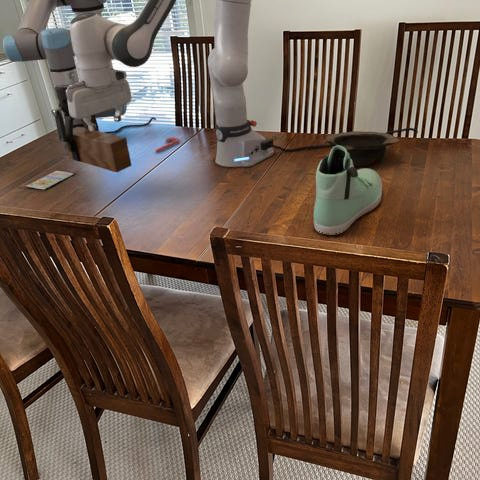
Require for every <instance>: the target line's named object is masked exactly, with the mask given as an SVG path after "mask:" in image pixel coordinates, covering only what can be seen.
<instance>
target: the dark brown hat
mask: <svg viewBox="0 0 480 480" xmlns="http://www.w3.org/2000/svg"><path fill="white" fill-rule="evenodd" d="M385 133H386V132H380V131H379V132H378V131H362V130H361V131H360V130H354V131H353V130H352V131H345V132H343V131H342V132H338V133H333V134H330V135H328V136H326V138H325V141H324V143H327V145H329V144H331V145H334V146H342V147H344V148H345V149H346V150H347V152H348V153H349V156H350V159H352V161H353V166H354V167H361V166H370V165H372V164H373V162H374V161H383V160H384V159H385V157H386V152H387V151H386V150H387V147H389V146H391V145H394V144H396V143H398V142H399V139H398V138H397V137H395V136H394V135H392V134H385Z"/></svg>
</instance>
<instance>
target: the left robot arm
mask: <svg viewBox="0 0 480 480" xmlns="http://www.w3.org/2000/svg"><path fill="white" fill-rule="evenodd" d="M107 2H108V0H28V2H27V3H26V7H25V9H24V12H23V15H22V16H21V20H20V22H19V25H18V28H17V30H16V32H15V34H10V35H7V36H4V37H3V40H2V47H3V52H4V54H5V56H6V58H7V60H9V61H10V62H14V63H20V62H22V63H24V62H32V61H42V60H43V61H44V60H46V62H47V64H48V68H49V72H50V76H51V81H52V84H53V85H54V86H55V87H54V91H55V95H56V99H57V100H58V107H57V108H55V109H52V110H51V114H52V116H53V117H54V121H55V126H56V130H57V134H58V139H59V141H60V142H63V143H65V144H66V143H67V146H68V150H69V151H70V152H71V153H72V157H73V159H72V161H76V162H79V161H80V157H79V153H78V149H77V145H76V142H75V141H73V128H76V127H82V128H86V129H89V128H88V125H87V124H86V123H85V121H84V120H83V118H82V119H75V118H72V117H71V116H70V114H69V109H68V100H67V95H66V90H67V88H68V87H69V85H71V84H75V83H78V82H80V78H79V74H78V69H77V64H76V60H75V57H76V56H75V54H74V51H73V47H72V42H71V35H70V29H66V28H65V27H52V28H48V24H49V21H50V18H51V14H52V13H53V12H54V11H56V9H57V8H59V7H70V8H71V12H72V13H73V14H74V15H76V16H79V15H82V14H85V13H96V14H97V15H99V16H101V17H102V18H103V14H102V12H103V11H104V10H105V5H104V4H106V3H107ZM112 61H113V60H111V61H110V62H109V63H110V68H111V69H114V66H113V62H112ZM69 89H70V88H69ZM122 106H123V110H122V114H121V116H124V115H125V114H127V109H128V103H127V104H124V105H122ZM115 113H116V109H115V108H112V109H109V110H106V111H103V112H100V113H97V114H94V115H91V120H90V121H91V122H92V123H93V124H96V128H97V129H96V130H95V131H99V132H101V130H100V128H99V124H98V121H97V119H100V118H101V119H102V118H114V117H113V116H114V115H115ZM153 120H154V121H157V118H156V117H150V119H149V120H148V122H146V123H142V124H126V125H123V126H120V127H119V128H117V129H116V130H112V131H111V130H110V131H104V133H108V134H112V135H113V134H117V133H119V132H120V131H121V130H123V129H125V128H135V127H137V128H138V127H139V128H141V127H146V126H148V125H150V124H151V122H152V121H153ZM67 146H66V147H67ZM68 150H67V151H68Z"/></svg>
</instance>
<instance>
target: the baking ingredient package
mask: <svg viewBox="0 0 480 480" xmlns="http://www.w3.org/2000/svg"><path fill="white" fill-rule="evenodd" d="M74 174H75V173H74V172H67V171H62V170H55V171H53V172H51V173H49V174H46V175H45V176H43V177H41V178H39V179H37V180H35V181H33V182H31V183H29V184H27V185H26V187H28V188H33V189H38V190H46V189H47V188H50V187H51V186H53V185H55V184H57V183H59V182H60V181H64V180H65V179H67V178H69V177H71V176H72V175H74Z"/></svg>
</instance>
